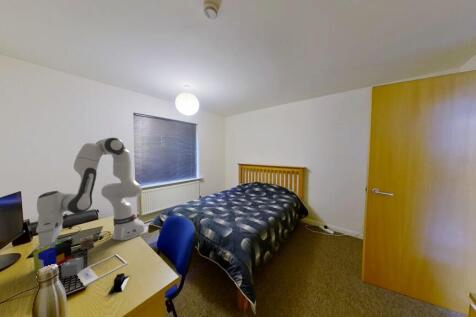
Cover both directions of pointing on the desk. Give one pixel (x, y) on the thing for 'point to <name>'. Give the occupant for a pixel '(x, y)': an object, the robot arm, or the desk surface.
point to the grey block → (72, 267)
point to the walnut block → (87, 242)
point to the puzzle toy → (52, 255)
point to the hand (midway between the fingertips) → (53, 246)
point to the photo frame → (89, 276)
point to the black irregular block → (119, 283)
